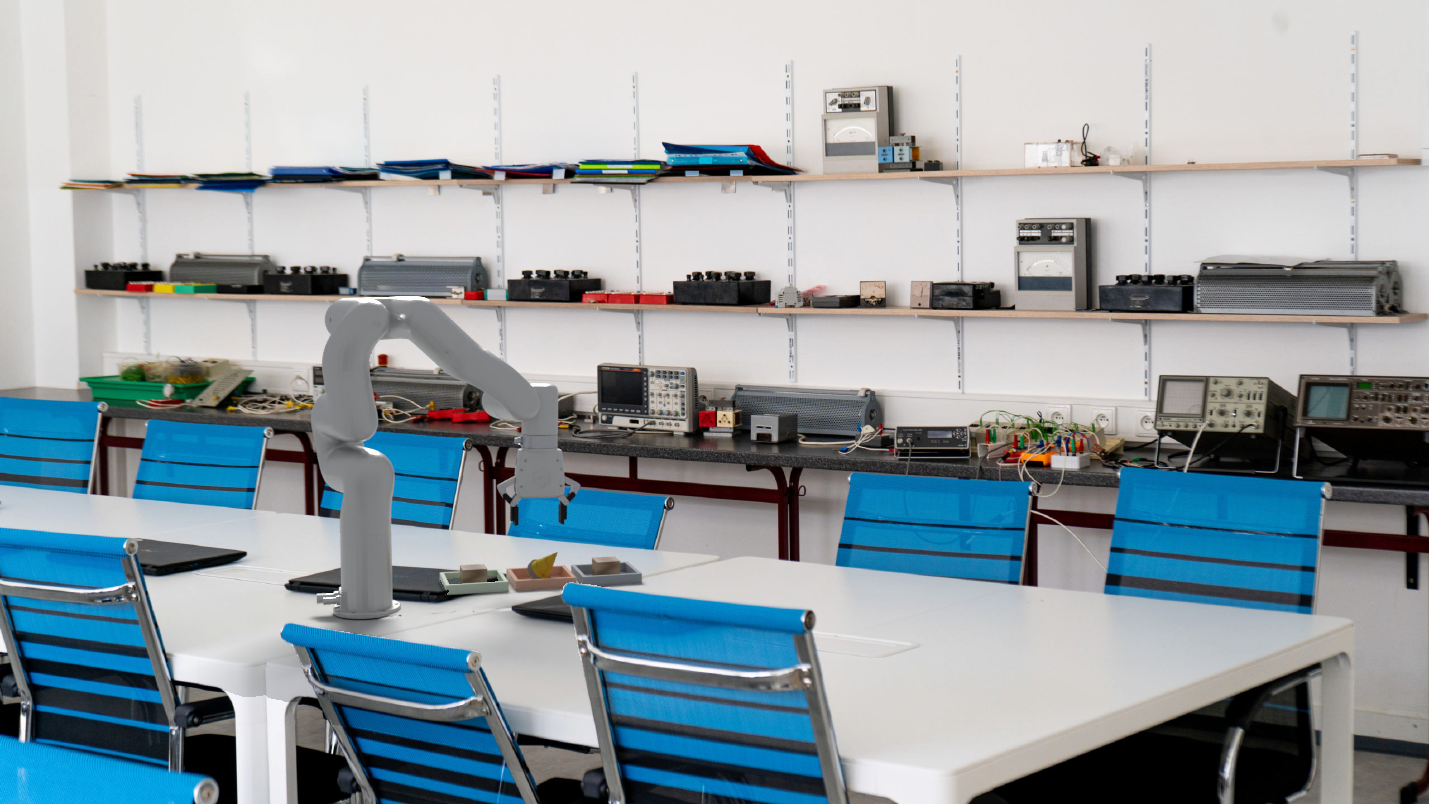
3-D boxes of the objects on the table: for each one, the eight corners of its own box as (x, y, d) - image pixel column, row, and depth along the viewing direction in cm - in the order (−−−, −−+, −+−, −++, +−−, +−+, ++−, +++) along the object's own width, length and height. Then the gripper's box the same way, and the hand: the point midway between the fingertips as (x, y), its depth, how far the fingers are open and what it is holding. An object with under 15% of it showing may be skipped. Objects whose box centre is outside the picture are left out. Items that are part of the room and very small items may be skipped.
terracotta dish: (515, 593, 270) (515, 581, 270) (506, 580, 282) (506, 568, 282) (576, 589, 273) (576, 577, 273) (564, 576, 285) (564, 565, 285)
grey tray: (582, 588, 274) (582, 577, 274) (571, 576, 286) (571, 564, 286) (641, 585, 278) (641, 573, 277) (627, 572, 290) (627, 561, 289)
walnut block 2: (597, 581, 279) (596, 562, 278) (592, 576, 283) (591, 557, 283) (620, 579, 280) (620, 561, 280) (614, 574, 285) (614, 556, 284)
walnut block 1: (462, 589, 270) (462, 570, 270) (460, 584, 275) (459, 565, 275) (487, 587, 272) (487, 568, 271) (484, 582, 277) (484, 563, 276)
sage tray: (446, 597, 266) (445, 585, 265) (439, 584, 278) (439, 572, 277) (508, 593, 269) (508, 581, 269) (499, 580, 281) (499, 569, 281)
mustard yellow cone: (543, 579, 282) (570, 551, 278) (538, 595, 277) (565, 566, 273) (523, 565, 281) (549, 537, 276) (517, 581, 276) (544, 552, 272)
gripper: (500, 445, 269) (499, 528, 270) (584, 444, 274) (582, 525, 275) (495, 441, 276) (494, 522, 277) (576, 440, 281) (575, 520, 282)
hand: (538, 524), depth 276 cm, fingers open, 9 cm apart
